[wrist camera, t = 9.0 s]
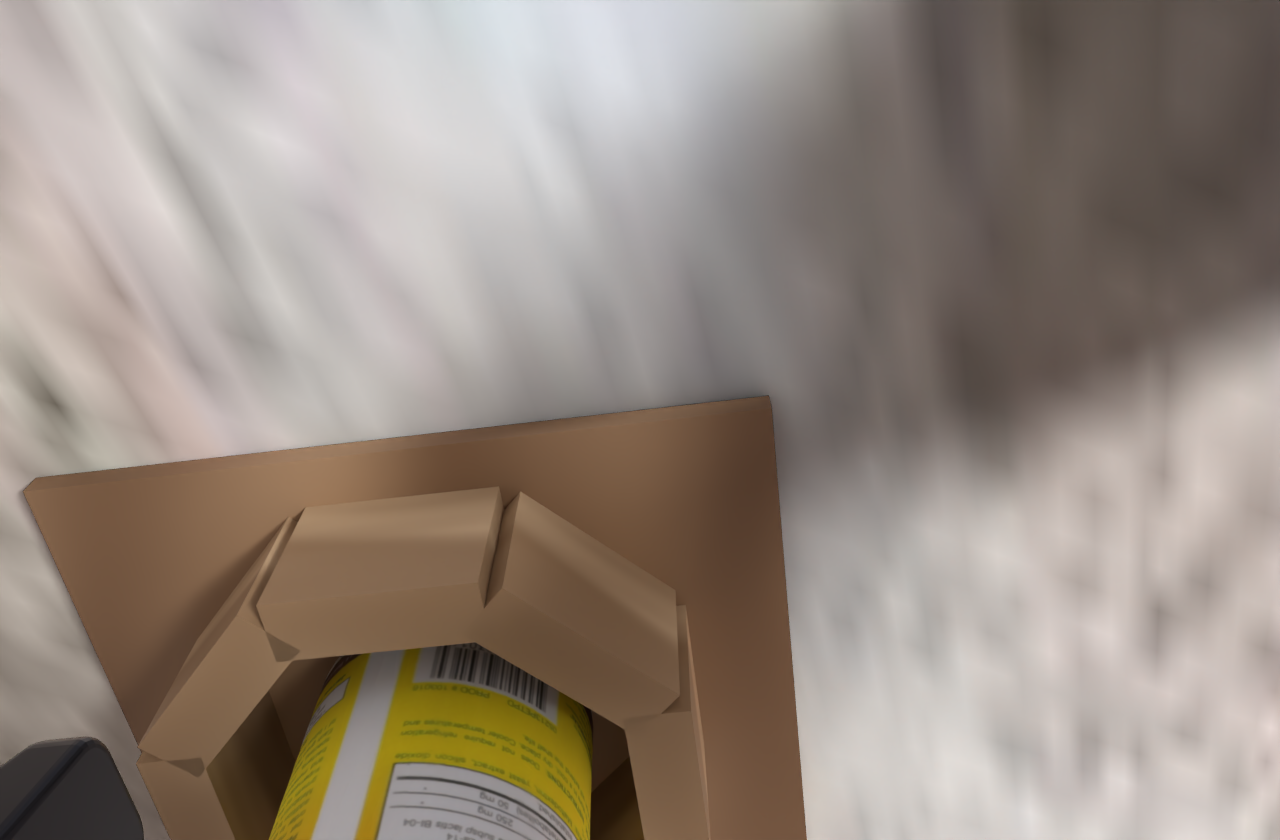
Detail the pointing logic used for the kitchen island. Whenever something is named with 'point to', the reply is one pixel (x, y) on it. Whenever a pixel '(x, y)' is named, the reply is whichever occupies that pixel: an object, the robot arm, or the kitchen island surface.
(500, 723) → the supplement bottle
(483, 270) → the kitchen island surface
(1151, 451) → the kitchen island surface
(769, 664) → the caddy
